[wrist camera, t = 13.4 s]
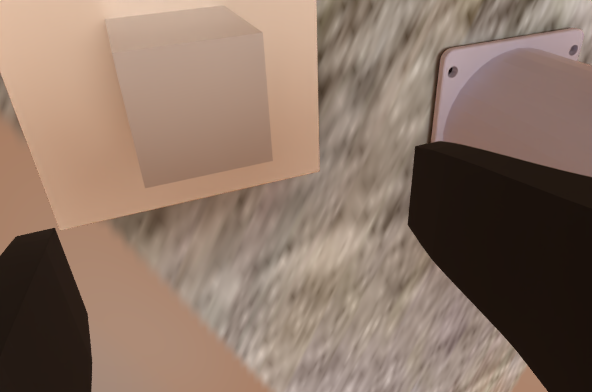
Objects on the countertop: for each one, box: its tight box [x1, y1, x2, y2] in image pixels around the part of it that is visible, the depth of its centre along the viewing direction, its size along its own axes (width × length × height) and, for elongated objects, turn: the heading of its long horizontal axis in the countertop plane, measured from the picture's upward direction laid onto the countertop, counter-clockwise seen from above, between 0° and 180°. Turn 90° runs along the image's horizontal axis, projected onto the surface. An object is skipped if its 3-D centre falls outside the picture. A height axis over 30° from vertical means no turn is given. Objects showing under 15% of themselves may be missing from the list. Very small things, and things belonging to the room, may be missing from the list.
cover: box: [0, 0, 320, 231], centre depth 16 cm, size 11×11×6 cm
